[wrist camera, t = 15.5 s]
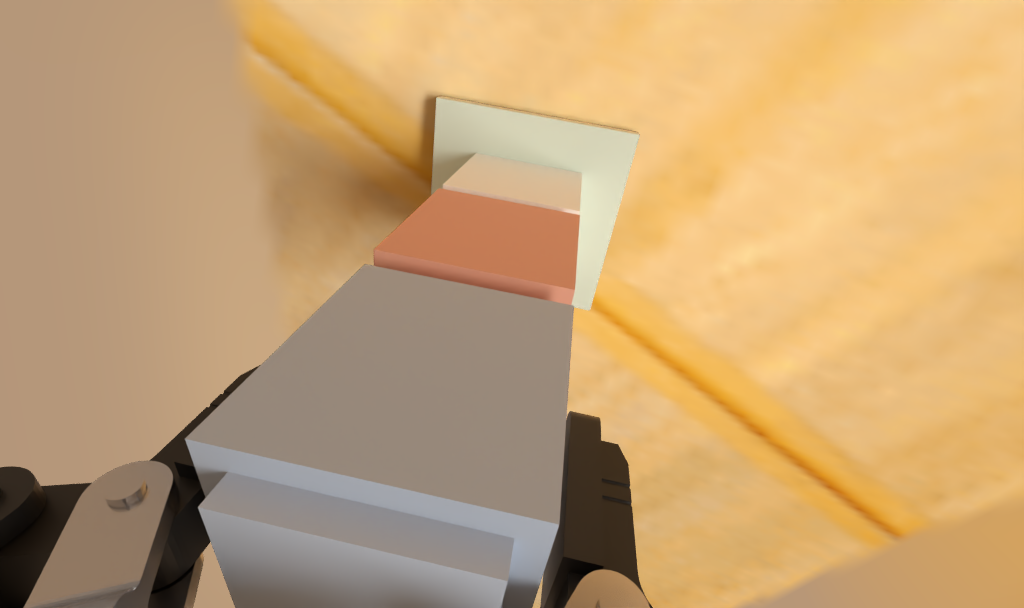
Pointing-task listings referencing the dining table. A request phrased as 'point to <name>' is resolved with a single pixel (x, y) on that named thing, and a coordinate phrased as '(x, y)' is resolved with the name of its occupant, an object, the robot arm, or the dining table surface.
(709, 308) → the dining table surface
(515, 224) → the brick terracotta
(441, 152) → the tower base
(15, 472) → the robot arm
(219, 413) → the grey block
